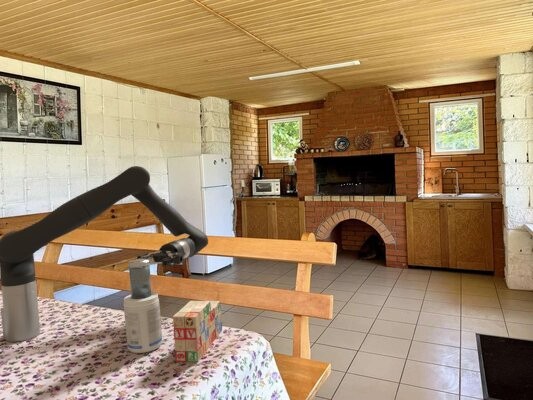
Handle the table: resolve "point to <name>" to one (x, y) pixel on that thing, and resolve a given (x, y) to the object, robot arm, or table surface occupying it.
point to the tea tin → (140, 278)
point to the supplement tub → (143, 323)
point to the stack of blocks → (196, 329)
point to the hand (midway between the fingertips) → (150, 263)
